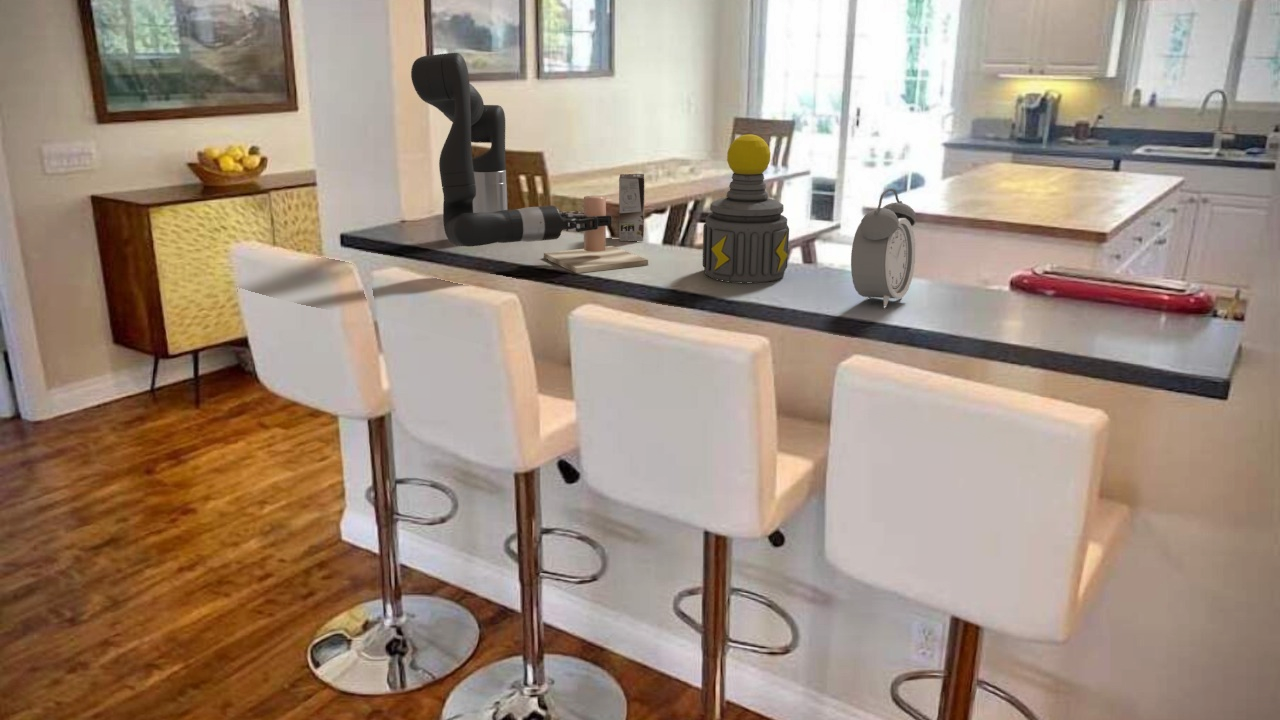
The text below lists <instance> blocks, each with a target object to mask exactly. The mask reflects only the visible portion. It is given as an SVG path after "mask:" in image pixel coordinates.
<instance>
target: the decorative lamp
mask: <svg viewBox="0 0 1280 720" xmlns="http://www.w3.org/2000/svg"><path fill="white" fill-rule="evenodd" d="M726 153H727V154H726V155H727V159H726V160H727V163H728V167H729V168H730V170H731V171H732V176H731V179H732V180H731V182H729V185H728V188H729V190H728V191H727V192H726V197H721V198H718V199H716V200H713V201H712V202H711V203H710V206H709V208H710V209H709V210H710V211H711V212H712V213H709V214H707V216H706V217H705V223H703V228H702V229H703V230H702V232H703V234H702V235H703V236H702V267H703V268H704V274H705V275H706V276H707V277H708V276H709V277H708V278H710V277H711V278H710V279H713V278H714V279H713V280H716V279H718V280H717V281H720V280H723V281H722V282H725V281H729V282H728V283H732V282H742V283H741V284H748V283H747V282H752V283H751V284H756V283H755V282H764V283H770V282H769V281H771V282H774V280H775V281H778V280H780V279H782V278H783V277H784V276H785V272H786V269H787V268H788V263H789V262H788V260H789V258H788V257H789V240H790V239H789V238H790V227H789V226H788V218H787V217H785V215H783V213H784V210H785V209H784V204H782V203H781V202H779V201H778V200H776V199H772V198H769V194H768V191H766V188H767V186H766V185H767V184H766V183H765V182H764V180H765V175H764V172H765V171H766V170H767V169H768V167H769V164H770V162H771V150H770V147H769V144H767V142H766V141H765V139H763V138H762V137H760V136H758V135H756V134H750V133H749V134H742V135H740V136H739V137H737V138H735V139H734V140H732V143H731V144H730V145H729V147H728V150H727V152H726Z"/></svg>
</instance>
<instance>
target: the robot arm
mask: <svg viewBox="0 0 1280 720" xmlns="http://www.w3.org/2000/svg"><path fill="white" fill-rule="evenodd" d="M410 77H411V83H412V85H413V88H414V91H416V94H417V96H418V97H419V98H420V99H421V101H424V102H425V103H427V104H429V105H431V106H432V107H434V108H436V109H438V111H440V113H442V114H443V115H444V116H445V117H446V118H447V119H448V120H449V121H451V123H452V124H451V127H450V130H449V131H448V132H449V133H448V135H447V137H446V139H445V141H444V144H443V146H442V148H441V151H440V155H439V161H438V163H439V164H438V166H439V176H440V181H441V182H440V183H441V187H442V188H441V189H442V193H443V207H442V209H443V210H442V211H443V213H442V214H443V216H442V219H443V220H442V221H443V229H444V233H445V236H446V238H447V239H448V241H449V242H450V243H452V244H453V245H455V246H458V247H469V248H470V247H478V246H484V245H485V246H487V245H492V244H497V243H501V244H502V243H503V244H504V243H505V244H506V243H518V242H523V243H525V242H526V243H527V242H528V243H529V242H530V243H531V242H541V241H551V240H552V241H553V240H557V239H559V238H560V237H561V234H562V231H566V232H574V231H575V232H577V233H580V232H584V231H587V230H596V229H598V226H606V227H608V226H611V225H612V216H611V215H608V214H606V215H605V216H586V215H585V214H584V211H577V210H571V211H569V210H568V211H567V210H565V211H560V210H559V208H558V207H557V206H555V205H542V206H531V207H530V206H529V207H528V206H527V207H522V208H518V209H517V208H516V209H515V208H514V209H508V190H507V166H506V164H507V163H506V114H505V111H504V108H503V106H501V105H497V104H484V100H483V97H482V95H481V94H480V92H479V91H478V90H477V89H476V88H475V86H473V85H472V84H471V83H470V77H469V70H468V67H467V62H466V61H465V59H464V57H463V55H462V54H461V53H459V52H447V53H439V54H438V53H437V54H430V55H423V56H421V57H418V58H416V59H415V61H413V63H412V65H411V71H410ZM472 143H477V144H478V143H479V144H481V143H482V144H483V143H484V144H485V143H487V144H491V145H490V149H489V150H487V151H486V152H484V153H483V154H479V155H476V156H474V157H473V153H472V151H473V150H472ZM590 222H592V225H590Z"/></svg>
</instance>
